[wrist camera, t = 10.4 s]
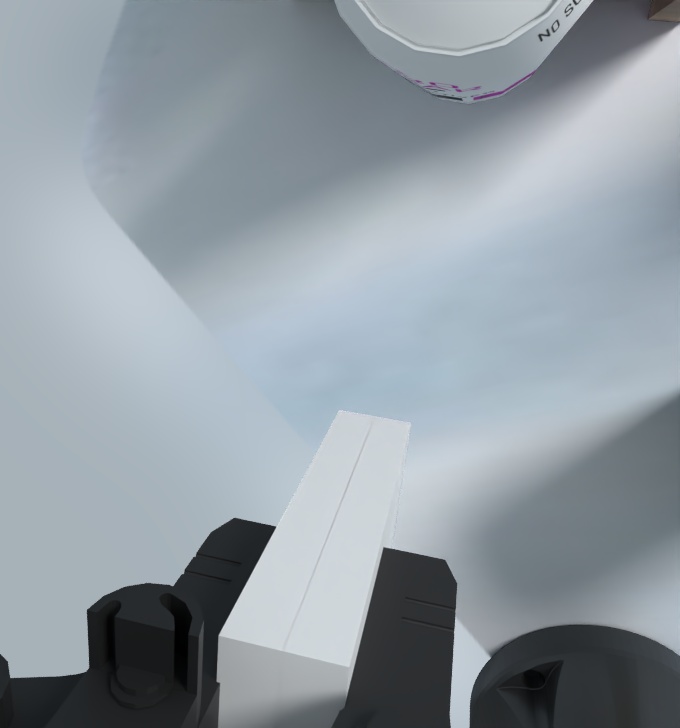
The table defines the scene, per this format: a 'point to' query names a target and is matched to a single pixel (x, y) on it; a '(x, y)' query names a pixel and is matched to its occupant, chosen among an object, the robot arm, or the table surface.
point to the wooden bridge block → (665, 10)
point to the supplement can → (462, 40)
